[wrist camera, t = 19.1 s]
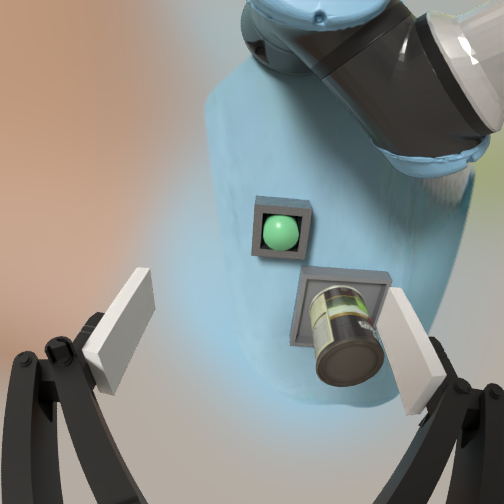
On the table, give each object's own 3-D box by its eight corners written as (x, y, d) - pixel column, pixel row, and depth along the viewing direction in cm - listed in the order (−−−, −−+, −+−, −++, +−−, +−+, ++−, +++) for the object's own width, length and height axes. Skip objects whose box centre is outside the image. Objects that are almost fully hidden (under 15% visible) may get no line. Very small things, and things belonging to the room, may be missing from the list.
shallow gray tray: (301, 265, 52) (302, 274, 49) (387, 271, 51) (392, 280, 49) (289, 335, 59) (289, 345, 56) (365, 338, 58) (368, 348, 56)
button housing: (256, 195, 47) (254, 204, 43) (309, 200, 46) (312, 209, 43) (252, 243, 50) (251, 255, 47) (302, 247, 50) (304, 259, 46)
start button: (265, 207, 47) (264, 216, 43) (298, 210, 46) (300, 219, 43) (262, 238, 49) (262, 249, 45) (294, 240, 49) (296, 252, 45)
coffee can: (347, 273, 51) (368, 328, 38) (372, 311, 54) (393, 367, 42) (297, 303, 54) (302, 362, 41) (325, 338, 57) (335, 395, 45)
